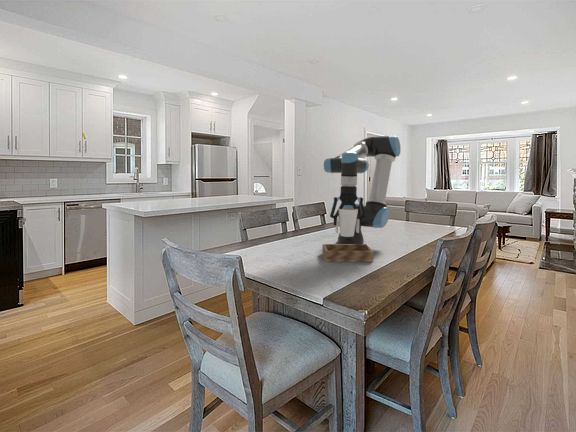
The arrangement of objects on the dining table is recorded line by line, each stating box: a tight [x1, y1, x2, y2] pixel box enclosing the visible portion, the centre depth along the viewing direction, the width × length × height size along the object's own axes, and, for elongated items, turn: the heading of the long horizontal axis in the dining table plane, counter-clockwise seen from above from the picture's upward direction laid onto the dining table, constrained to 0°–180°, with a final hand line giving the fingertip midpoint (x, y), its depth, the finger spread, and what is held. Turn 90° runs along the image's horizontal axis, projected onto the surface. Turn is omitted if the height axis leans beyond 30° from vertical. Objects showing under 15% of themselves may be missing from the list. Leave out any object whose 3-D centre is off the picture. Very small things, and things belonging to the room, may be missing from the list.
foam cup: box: [337, 208, 358, 237], centre depth 161 cm, size 10×9×13 cm
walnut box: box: [321, 243, 374, 263], centre depth 163 cm, size 22×15×5 cm
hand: (347, 232), depth 161 cm, fingers closed on foam cup, 9 cm apart
